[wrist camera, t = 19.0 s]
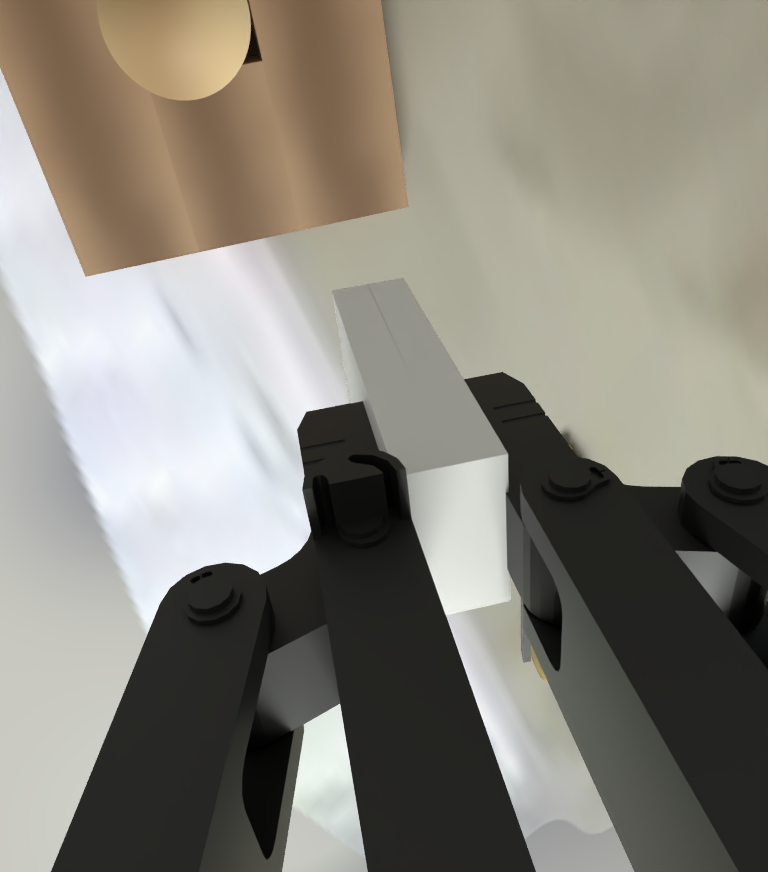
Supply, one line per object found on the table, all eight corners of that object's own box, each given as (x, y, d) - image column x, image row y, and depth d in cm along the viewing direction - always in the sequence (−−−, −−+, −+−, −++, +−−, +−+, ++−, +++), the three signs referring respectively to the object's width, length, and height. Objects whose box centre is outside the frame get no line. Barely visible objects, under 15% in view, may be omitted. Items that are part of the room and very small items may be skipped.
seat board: (320, -344, 27) (330, -376, 25) (396, 191, 38) (408, 206, 36) (-116, -277, 26) (-151, -304, 23) (94, 256, 37) (85, 276, 34)
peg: (223, -61, 31) (228, -84, 19) (248, 47, 33) (266, 85, 22) (126, -44, 31) (72, -55, 19) (158, 65, 33) (128, 113, 21)
